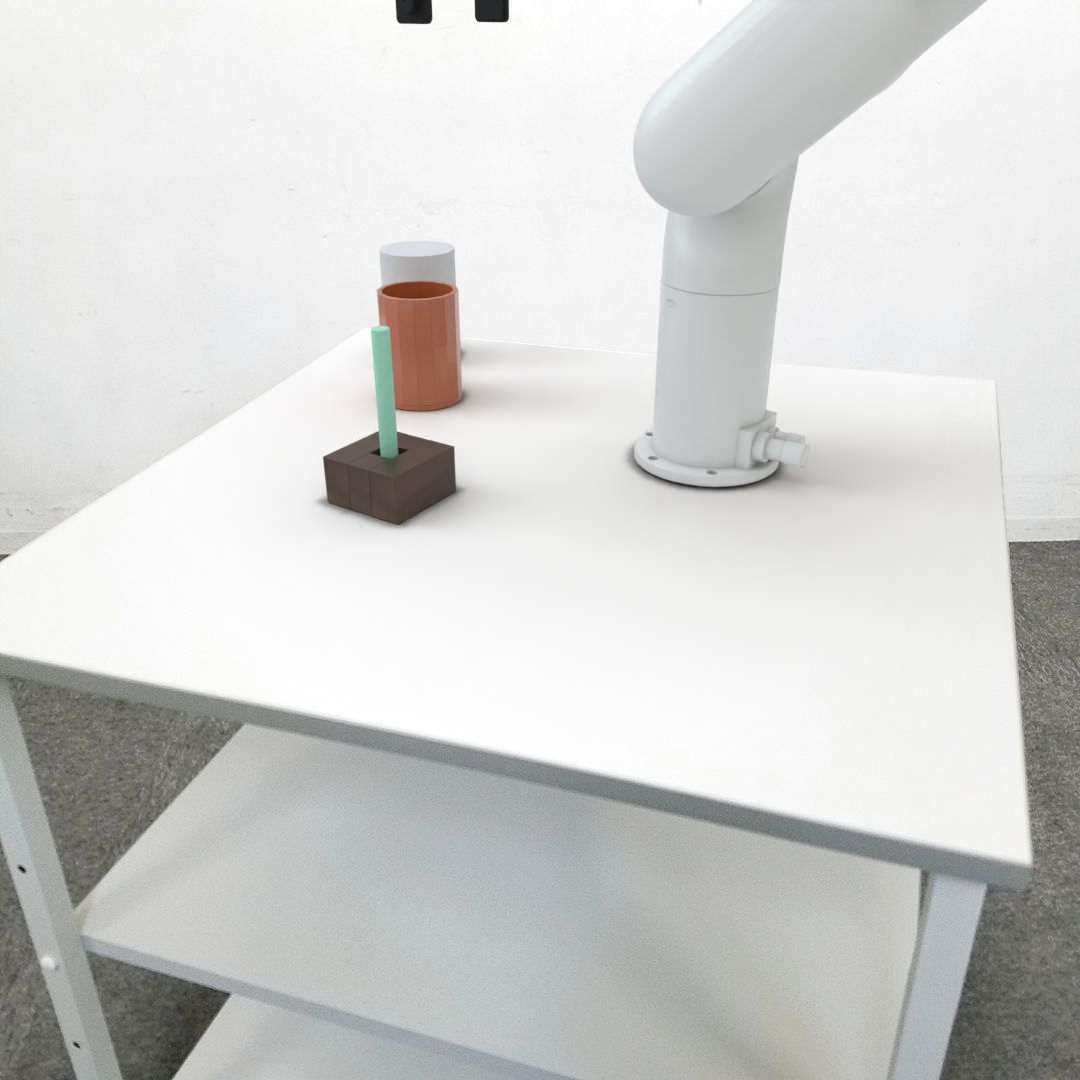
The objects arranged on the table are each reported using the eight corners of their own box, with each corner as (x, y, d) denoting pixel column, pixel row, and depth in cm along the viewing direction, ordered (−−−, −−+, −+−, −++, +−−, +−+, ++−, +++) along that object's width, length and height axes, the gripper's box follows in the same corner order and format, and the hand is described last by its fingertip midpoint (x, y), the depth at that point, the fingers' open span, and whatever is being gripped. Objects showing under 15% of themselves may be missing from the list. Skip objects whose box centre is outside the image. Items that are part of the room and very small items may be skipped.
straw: (404, 495, 84) (393, 327, 78) (393, 501, 83) (381, 331, 77) (391, 491, 85) (379, 324, 79) (380, 497, 84) (366, 328, 78)
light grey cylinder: (463, 346, 121) (460, 241, 116) (451, 367, 114) (447, 257, 108) (395, 344, 122) (388, 240, 116) (379, 365, 115) (371, 255, 109)
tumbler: (477, 393, 106) (473, 286, 101) (429, 416, 101) (423, 304, 95) (417, 380, 110) (412, 276, 105) (368, 401, 104) (360, 292, 99)
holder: (456, 491, 85) (454, 446, 83) (397, 524, 80) (394, 477, 78) (387, 471, 89) (384, 427, 87) (327, 502, 83) (322, 456, 81)
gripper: (405, -269, 67) (418, 25, 75) (556, -226, 80) (554, 22, 88) (323, -254, 71) (344, 23, 79) (479, -216, 84) (484, 21, 92)
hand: (454, 22), depth 83 cm, fingers open, 9 cm apart
